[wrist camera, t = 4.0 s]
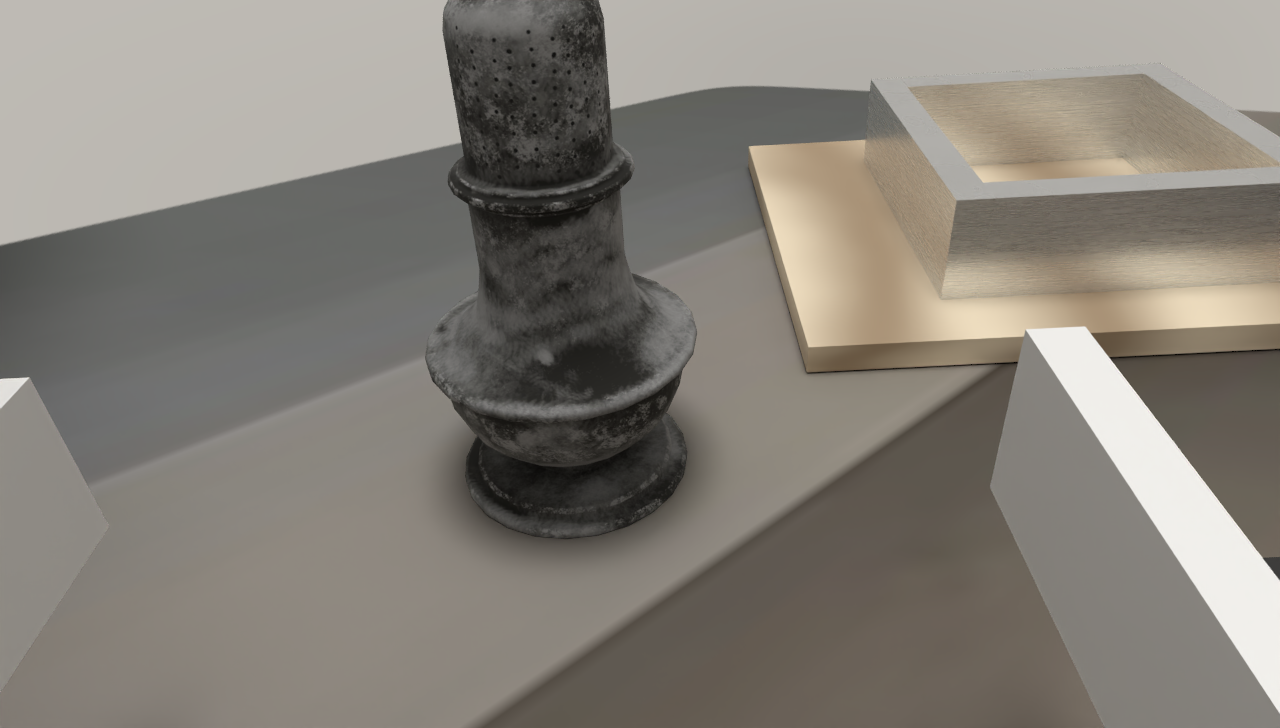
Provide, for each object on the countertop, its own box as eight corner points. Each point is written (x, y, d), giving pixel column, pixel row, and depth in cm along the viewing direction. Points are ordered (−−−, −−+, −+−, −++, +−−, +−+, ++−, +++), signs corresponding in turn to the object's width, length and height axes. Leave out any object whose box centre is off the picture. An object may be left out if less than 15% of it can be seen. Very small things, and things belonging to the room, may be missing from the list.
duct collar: (941, 300, 25) (956, 200, 24) (863, 160, 33) (871, 79, 32) (1305, 281, 25) (1348, 179, 23) (1137, 145, 33) (1160, 63, 32)
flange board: (806, 372, 24) (808, 347, 24) (748, 165, 36) (748, 146, 35) (1496, 338, 24) (1511, 311, 23) (1212, 140, 35) (1219, 120, 35)
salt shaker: (550, 364, 25) (484, -125, 18) (741, 425, 23) (749, -119, 16) (400, 492, 21) (246, -71, 14) (612, 586, 18) (547, -51, 12)
